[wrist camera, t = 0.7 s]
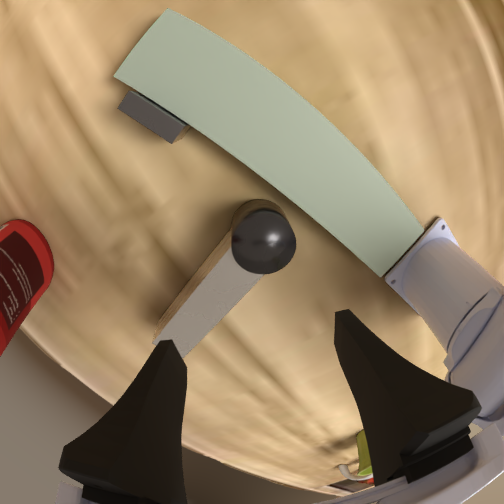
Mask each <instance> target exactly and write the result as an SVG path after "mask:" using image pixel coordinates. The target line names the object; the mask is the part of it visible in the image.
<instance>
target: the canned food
mask: <svg viewBox="0 0 504 504" xmlns="http://www.w3.org/2000/svg"><path fill="white" fill-rule="evenodd" d="M53 272H54V261H53V256H52V252H51V249H50V247H49V245H48V243H47V241H46V239H45V237H44V236H43V235H42V233H41V232H40V231H39V230H38V229H37V228H36V227H35V226H34V225H32V224H31V223H29V222H27V221H25V220H19V219H18V220H13V221H8V222H7V223H5V224H3V225H2V226H1V227H0V356H1V355H2V353H3V351H4V350H5V348H6V347H7V345H8V344H9V342H10V341H11V339H12V337H13V336H14V334H15V332H16V331H17V330H18V328H19V327H20V325H21V324H22V322H23V321H24V319H25V318H26V316H27V315H28V314H29V312H30V311H31V309H32V308H33V306H34V305H35V304H36V302H37V301H38V300H39V298H40V297H41V296H42V294H43V293H44V292H45V290H46V289H47V288H48V286H49V284H50V282H51V279H52V276H53Z"/></svg>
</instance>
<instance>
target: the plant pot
mask: <svg viewBox="0 0 504 504" xmlns="http://www.w3.org/2000/svg"><path fill="white" fill-rule="evenodd" d="M356 440H357V447H358V455H359V472H358V473H357V475H358V476H364V475H369V474H372V466H371V460H370V455H369V450H368V445H367V440H366V436H365V432H364V430H363V431H361V432H360V433H358V436H356Z"/></svg>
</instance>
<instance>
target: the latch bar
mask: <svg viewBox="0 0 504 504" xmlns="http://www.w3.org/2000/svg"><path fill="white" fill-rule="evenodd" d="M295 250H296V238H295V235H294V232H293V230H292V228H291V226H290V224H289V222H288V220H287V218H286V216H285V214H284V212H283V211H282V209H281V208H280V207H279V206H278V205H276V204H275V203H273V202H270V201H267V200H253V201H250V202H247V203H245V204H244V205H242V206H241V207H240V208H239V209H238V210H237V211H236V213H235V214H234V216H233V219H232V223H231V229H230V231H229V232H228V233H227V234H226V235H225V237H224V238H223V239H222V240H221V242H220V243H219V244H218V245H217V247H216V248H215V249H214V250H213V252H212V253H211V254H210V255H209V257H208V258H207V259H206V260H205V262H204V263H203V264H202V265H201V267H200V268H199V269H198V270H197V272H196V273H195V274H194V275H193V277H192V278H191V279H190V280H189V282H188V283H187V284H186V286H185V287H184V288H183V289H182V291H181V292H180V293H179V295H178V296H177V297H176V298H175V300H174V301H173V302H172V304H171V305H170V306H169V308H168V309H167V310H166V311H165V313H164V314H163V315H162V317H161V318H160V319H159V321H158V323H157V327H156V331H155V334H154V338H153V342H152V343H153V344H155V345H157V344H158V343H159V341H160V340H170V339H172V340H173V342H174V344H175V346H176V348H177V350H178V352H179V354H180V355H181V357H182V358H184V357H185V356H186V355H187V354H188V353H189V352H190V351H191V350H192V349H193V348H194V347H195V346H196V345H197V344H198V343H199V342H200V341H201V340H202V339H203V338H204V337H205V336H206V335H207V334H208V332H209V331H210V330H211V329H212V328H213V327H214V326H215V325H216V324H217V323H218V322H219V321H220V320H221V319H222V318H223V317H224V316H225V315H226V314H227V313H228V312H229V311H230V310H231V309H232V308H233V307H234V306H235V305H236V304H237V303H238V302H239V301H240V299H241V298H242V297H243V296H244V295H245V294H246V293H247V292H248V291H249V290H250V289H251V288H252V287H253V286H254V285H255V284H256V283H257V282H258V281H259V280H260V278H261V277H262V276H263V275H264V274H270V273H274V272H276V271H278V270H280V269H282V268H283V267H285V266H286V265H287V264H288V263H289V262H290V260H291V259H292V257H293V255H294V253H295Z"/></svg>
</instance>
